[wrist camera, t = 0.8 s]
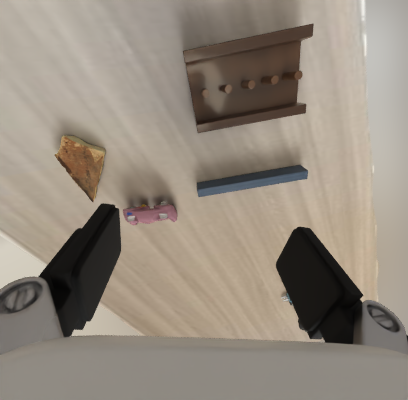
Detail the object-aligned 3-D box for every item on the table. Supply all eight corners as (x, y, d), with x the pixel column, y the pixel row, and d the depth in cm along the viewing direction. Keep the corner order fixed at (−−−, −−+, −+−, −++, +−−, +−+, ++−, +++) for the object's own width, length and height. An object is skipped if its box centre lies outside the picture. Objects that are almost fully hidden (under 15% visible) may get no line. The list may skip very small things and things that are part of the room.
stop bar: (196, 182, 38) (197, 189, 35) (300, 164, 37) (308, 170, 34) (198, 189, 39) (198, 197, 36) (299, 172, 38) (307, 178, 35)
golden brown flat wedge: (96, 198, 39) (92, 203, 37) (54, 183, 37) (48, 188, 35) (109, 150, 34) (105, 153, 33) (62, 130, 32) (55, 132, 31)
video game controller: (177, 199, 41) (171, 201, 34) (179, 220, 42) (174, 227, 35) (130, 203, 41) (116, 206, 34) (133, 224, 42) (119, 231, 35)
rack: (184, 55, 28) (182, 49, 23) (297, 31, 27) (319, 20, 22) (197, 127, 33) (197, 135, 28) (293, 109, 32) (310, 114, 27)
